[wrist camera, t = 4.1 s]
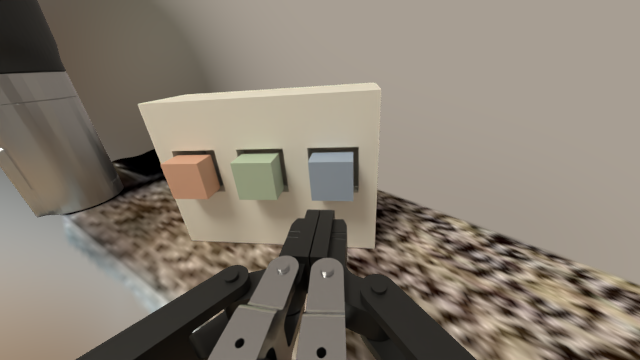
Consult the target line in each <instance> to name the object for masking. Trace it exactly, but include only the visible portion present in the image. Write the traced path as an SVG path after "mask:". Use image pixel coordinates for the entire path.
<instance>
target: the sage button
mask: <svg viewBox="0 0 640 360" xmlns="http://www.w3.org/2000/svg"><path fill="white" fill-rule="evenodd" d="M230 165H231V169H232V173H233V177H234V180H235V184H236V188H237V192H238V196H239V200H278V198H279V196H280V194H281V193H282V191H283V189H284V185H283V178H282V172H281V166H280V159H279V153H274V154H241V155H240V156H239V157H237V158H236V159H235V160H234V161H232V162H231V163H230Z"/></svg>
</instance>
